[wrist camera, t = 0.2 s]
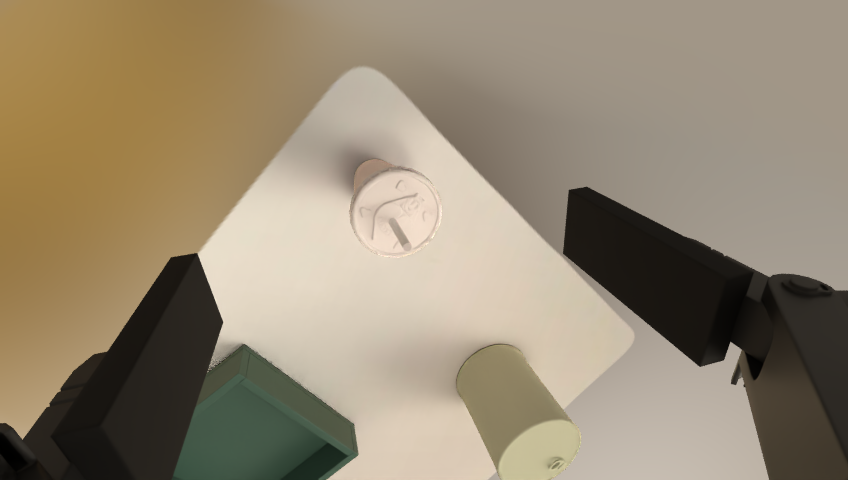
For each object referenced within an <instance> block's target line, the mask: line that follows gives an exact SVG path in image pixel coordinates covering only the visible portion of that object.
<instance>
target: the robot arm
mask: <svg viewBox="0 0 848 480" xmlns="http://www.w3.org/2000/svg"><path fill="white" fill-rule="evenodd" d="M563 254H564V255H565V256H567V257H568V258H569V259H570V260H571V261H573V262H574V263H575V264H576V265H577V266H579V267H580V268H581V269H582V270H583V271H585V272H586V273H587V274H588V275H589V276H591V277H592V278H593V279H594V280H595V281H597V282H598V283H599V284H601V285H602V286H603V287H604V288H605V289H606V290H608V291H609V292H610V293H611V294H612V295H614V296H615V297H616V298H617V299H618V300H620V301H621V302H622V303H623V304H625V305H626V306H627V307H628V308H629V309H631V310H632V311H633V312H634V313H635V314H637V315H638V316H639V317H640V318H641V319H643V320H644V321H645V322H646V323H647V324H649V325H650V326H651V327H652V328H654V329H655V330H656V331H657V332H658V333H660V334H661V335H662V336H663V337H665V338H666V339H667V340H668V341H669V342H670V343H672V344H673V345H674V346H675V347H677V348H678V349H679V350H680V351H681V352H683V353H684V354H685V355H686V356H688V357H689V358H690V359H691V360H692V361H693V362H695V363H696V364H697V365H698V366H700V367H701V366H705V365H708V364H712V363H715V362H719V361H723V360H724V359H725V356H726V353H727V350H728V347H729V344H730V341H731V342H732V343H733V344H735V345H736V346H738V347H739V348H741V349H742V351H741V354H740V357H739V360H738V362H737V365H736V368H735V371H734V373H733V376H732V380H731V384H734V385H736V384H737V381H738V379H739V378H741V377H743V380H744V387H745V388H746V392H747V396H748V399H749V403H750V407H751V411H752V415H753V419H754V423H755V426H756V430H757V434H758V438H759V442H760V446H761V450H762V453H763V457H764V461H765V465H766V469H767V473H768V476H769V480H848V291H835V290H834V289H833V288H832V287H830V286H828V285H827V284H824V283H822V282H820V281H817V280H814V279H812V278H809V277H804V276H800V275H794V274H777V275H772V276H771V277H768V276H766V275H764V274H762V273H760V272H758V271H756V270H754V269H752V268H750V267H748V266H746V265H744V264H742V263H740V262H738V261H736V260H734V259H732V258H730V257H728V256H724V255H723V254H722V253H720V252H718V251H716V250H714V249H713V250H711V248H710V247H708V246H706V245H705V244H703V243H700V242H699V241H697V240H694V239H690V238H687V237H684V236H682V235H680V234H678V233H676V232H674V231H672V230H670V229H668V228H667V227H664V226H663V225H661V224H659V223H657V222H655V221H653V220H651V219H649V218H647V217H645V216H643V215H641V214H639V213H637V212H635V211H633V210H631V209H629V208H627V207H625V206H623V205H621V204H620V203H618V202H616V201H614V200H612V199H610V198H608V197H606V196H604V195H602V194H600V193H598V192H596V191H594V190H592V189H590V188H588V187H584V188H577V189H571V190H569V194H568V205H567V216H566V227H565V238H564V249H563ZM222 324H223V320H222V318H221V315H220V312H219V310H218V307H217V304H216V302H215V299H214V296H213V294H212V291H211V289H210V286H209V283H208V281H207V278H206V275H205V273H204V270H203V267H202V265H201V262H200V259H199V257H198V254H197V253H194V254H188V255H183V256H177V257H171V258H170V260H169V261H168V263H167V264H166V266H165V267H164V269H163V270H162V272H161V273H160V275H159V276H158V278H157V279H156V281H155V282H154V284H153V285H152V286H151V288H150V290H149V291H148V292H147V294H146V295H145V297H144V298H143V300H142V301H141V303H140V304H139V306H138V307H137V309H136V310H135V312H134V313H133V315H132V316H131V318H130V319H129V321H128V322H127V323H126V325H125V326H124V328H123V329H122V331H121V332H120V334H119V336H118V337H117V338H116V340H115V341H114V343H113V344H112V346H111V347H110V349H109V350H108V352H104V353H98V354H94V355H92V356H91V357H90V358H89V359H88V360H86V361H85V362H84V363H83V364H82V365H80V366H79V367H78V368H77V369H76V370H74V371H73V372H72V374H71V375H70V376H69V378H68V379H67V380H66V382H65V383H64V385H63V386H62V387H61V392H58V393H57V394H56V395H55V397H54V398H53V399H52V401H51V402H50V407H47V408H46V409H45V410H44V412H43V413H42V414H41V416H40V417H39V418H38V420H37V421H36V422H35V424H34V425H33V427H32V428H31V429H30V431H29V432H28V433H27V435H26V436H25V437H24V439H23V440H22V439H21V438H20V436H19V435H18V434H17V432H16V431H15V430H14V429H13V428H12V427H11V426H9V425H8V424H6V423H0V480H172V478H173V475H174V471H175V468H176V465H177V462H178V459H179V456H180V453H181V450H182V447H183V444H184V441H185V438H186V435H187V432H188V429H189V425H190V422H191V419H192V416H193V413H194V410H195V407H196V404H197V401H198V398H199V395H200V392H201V389H202V386H203V383H204V380H205V376H206V373H207V370H208V367H209V364H210V361H211V358H212V355H213V352H214V349H215V346H216V343H217V340H218V337H219V334H220V331H221V327H222Z"/></svg>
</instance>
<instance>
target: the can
mask: <svg viewBox="0 0 848 480" xmlns="http://www.w3.org/2000/svg"><path fill="white" fill-rule="evenodd" d="M456 384H457V391H458V393H459V395H460V397H461V398H462V399H463V401H464V403H465V405H466V407H467V409H468V411H469V413H470V415H471V417H472V419H473V421H474V423H475V425H476V427H477V429H478V431H479V433H480V435H481V437H482V439H483V442H484V444H485V446H486V448H487V450H488V452H489V454H490V457H491V459H492V461H493V463H494V465H495V467H496V470H497V473H498V476H499V477H500V479H501V480H551V479H552V478H554V477H556V476H557V475H558V474H560V473H561V472H562V471H563V470H564V469H566V467H567V466H568V465H569V464H570V463H571V462H572V461H573V459H574V458H575V456H576V454H577V452H578V450H579V448H580V444H581V434H580V431H579V429H578V427H577V426H576V425H575V424H574V423H573V422H572V420H571V419H570V418H569V417H568V416H567V414H566V413H565V412H564V410H563V409H562V408H561V407H560V405H559V404H558V403H557V401H556V400H555V399H554V397H553V396H552V395H551V394H550V392H549V391H548V390H547V388H546V387H545V386H544V384H543V383H542V382H541V380H540V379H539V378H538V376H537V375H536V374H535V372H534V371H533V370H532V368H531V367H530V366H529V364H528V363H527V361H526V360H525V357H524V356H523V354H522V353H521V352H520V351H519V350H518V349H517V348H515V347H513V346H510V345H493V346H489V347H486V348H484V349H482V350H480V351H478V352H476V353H475V354H474V355H472V356H471V357H470V358H469V359H468V360H467V361H466V362H465V363H464V365H463V366H462V368H461V369H460V371H459V374H458V377H457V383H456Z"/></svg>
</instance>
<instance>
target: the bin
mask: <svg viewBox="0 0 848 480" xmlns="http://www.w3.org/2000/svg"><path fill="white" fill-rule="evenodd" d="M356 456H358V448H357V442H356V435H355V427H354V424H352V423H351V422H350V421H348V420H347V419H346V418H344V417H343V416H342V415H340V414H339V413H337V412H336V411H335V410H333V409H332V408H331V407H329V406H328V405H327V404H325V403H324V402H322V401H321V400H320V399H318V398H317V397H316V396H314V395H313V394H311V393H310V392H309V391H307V390H306V389H305V388H303V387H302V386H301V385H299V384H298V383H296V382H295V381H294V380H292V379H291V378H290V377H288V376H287V375H286V374H284V373H283V372H281V371H280V370H279V369H277V368H276V367H275V366H273V365H272V364H271V363H269V362H268V361H266V360H265V359H264V358H262V357H261V356H260V355H258V354H257V353H255V352H254V351H253V350H251V349H250V348H249V347H247V346H246V345H245V344H244V345H243V346H241V347H240V348H239V349H238V350H236V351H235V352H234V353H233V354H231V355H230V356H229V357H228V358H226V359H225V360H224V361H222V362H221V363H220V364H219V365H217V366H216V367H215V368H214V369H212V370H211V371H210V372H208V373H207V374H206V376H205V380H204V383H203V386H202V389H201V392H200V395H199V398H198V401H197V404H196V407H195V410H194V413H193V416H192V419H191V422H190V425H189V429H188V432H187V435H186V438H185V441H184V444H183V447H182V450H181V453H180V456H179V459H178V462H177V465H176V468H175V471H174V475H173V478H172V480H326V479H328V478H329V477H330V476H332V475H333V474H334V473H336V472H337V471H338V470H340V469H341V468H342V467H343V466H345V465H346V464H347V463H349V462H350V461H351V460H353V459H354V458H355V457H356Z"/></svg>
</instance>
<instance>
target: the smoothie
mask: <svg viewBox="0 0 848 480" xmlns="http://www.w3.org/2000/svg"><path fill="white" fill-rule="evenodd" d="M441 217H442V204H441V200H440V197H439V194H438V192H437V190H436V189H435V187H434V186H433V185H432V183H431V181H429V180H428V179H427V178H426V177H425V176H424V175H423V174H422V173H420V172H418V171H416V170H414V169H411V168H406V167H401V166H398V167H396V166H394V165H392V164H389V163H387V162H385V161H383V160H379V159H371V160H368V161H365V162H364V163H362V164H361V165H360V166H359V167H358V169H357V170H356V172H355V176H354V195H353V197H352V200H351V205H350V222H351V225H352V227H353V230H354V233H355V234H356V236H357V238H358V239H359V241H360V242H361V243H362V244H363V245H364V246H365V247H366V248H367V249H368V250H370V251H371V252H373V253H375V254H377V255H380V256H384V257H403V256H407V255H410V254H413V253H415V252H417V251H419V250H420V249H422V248H423V247H424V246H426V245H427V244H428V243H429V242H430V240H431V239H432V238H433V237H434V235H435V234H436V232H437V230H438V228H439V225H440V222H441Z"/></svg>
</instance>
